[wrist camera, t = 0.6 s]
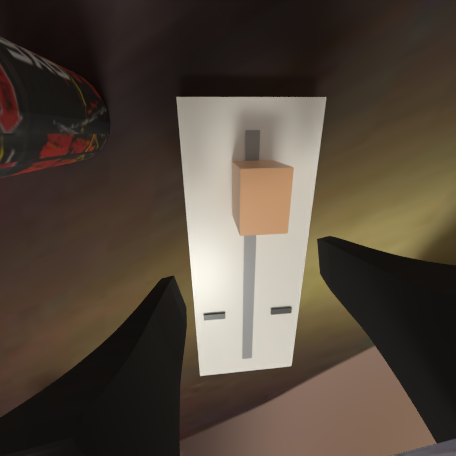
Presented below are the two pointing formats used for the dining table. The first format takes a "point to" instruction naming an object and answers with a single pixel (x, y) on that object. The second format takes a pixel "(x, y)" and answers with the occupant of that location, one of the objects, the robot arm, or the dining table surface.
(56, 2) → the dining table surface
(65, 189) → the dining table surface
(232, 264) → the panel
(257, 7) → the dining table surface
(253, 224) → the fader tab
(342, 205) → the dining table surface
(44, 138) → the deodorant
